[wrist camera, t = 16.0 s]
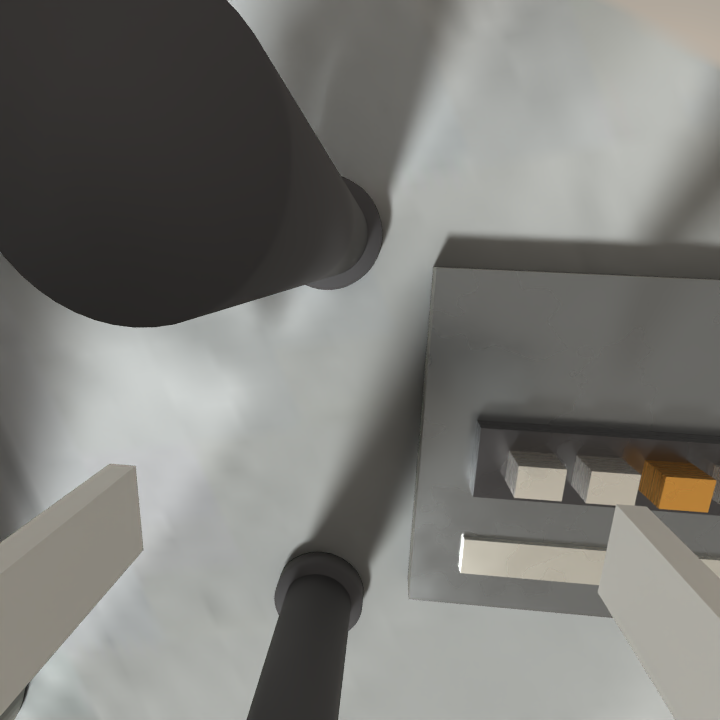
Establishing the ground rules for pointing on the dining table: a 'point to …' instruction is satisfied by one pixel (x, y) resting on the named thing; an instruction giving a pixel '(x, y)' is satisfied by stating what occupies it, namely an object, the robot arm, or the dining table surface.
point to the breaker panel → (560, 431)
